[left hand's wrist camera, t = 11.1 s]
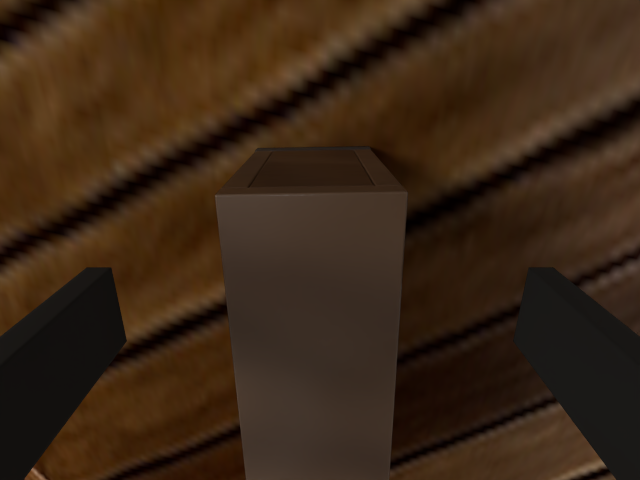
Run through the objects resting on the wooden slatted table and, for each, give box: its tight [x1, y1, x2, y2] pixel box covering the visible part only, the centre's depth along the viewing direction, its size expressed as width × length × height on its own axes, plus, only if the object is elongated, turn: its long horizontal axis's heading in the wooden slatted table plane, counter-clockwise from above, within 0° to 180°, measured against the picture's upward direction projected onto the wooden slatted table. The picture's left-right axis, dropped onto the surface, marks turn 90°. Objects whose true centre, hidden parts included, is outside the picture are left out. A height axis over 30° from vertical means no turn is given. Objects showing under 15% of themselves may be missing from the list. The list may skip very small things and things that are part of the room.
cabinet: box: [215, 146, 408, 480], centre depth 20 cm, size 22×6×10 cm, turn 1°
